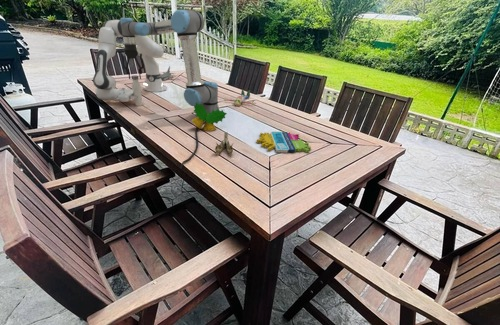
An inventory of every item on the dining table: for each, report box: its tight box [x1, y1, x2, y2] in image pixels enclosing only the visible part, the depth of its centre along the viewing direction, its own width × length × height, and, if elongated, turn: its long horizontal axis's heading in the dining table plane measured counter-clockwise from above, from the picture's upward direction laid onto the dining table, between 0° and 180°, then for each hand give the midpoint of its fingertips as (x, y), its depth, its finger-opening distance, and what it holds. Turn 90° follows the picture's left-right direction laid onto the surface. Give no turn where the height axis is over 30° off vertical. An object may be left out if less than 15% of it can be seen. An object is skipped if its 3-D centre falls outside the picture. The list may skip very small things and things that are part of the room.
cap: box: [131, 74, 139, 81], centre depth 188 cm, size 4×4×2 cm
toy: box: [223, 89, 257, 106], centre depth 219 cm, size 28×7×30 cm
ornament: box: [191, 102, 228, 132], centre depth 162 cm, size 21×8×15 cm, turn 105°
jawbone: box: [214, 131, 234, 156], centre depth 136 cm, size 9×15×10 cm
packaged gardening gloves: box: [256, 131, 312, 154], centre depth 152 cm, size 26×2×30 cm
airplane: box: [160, 65, 176, 81], centre depth 271 cm, size 38×32×10 cm
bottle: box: [131, 78, 144, 107], centre depth 192 cm, size 6×6×20 cm
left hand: (138, 96), depth 194 cm, fingers closed on bottle, 5 cm apart
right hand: (135, 78), depth 188 cm, fingers open, 6 cm apart
